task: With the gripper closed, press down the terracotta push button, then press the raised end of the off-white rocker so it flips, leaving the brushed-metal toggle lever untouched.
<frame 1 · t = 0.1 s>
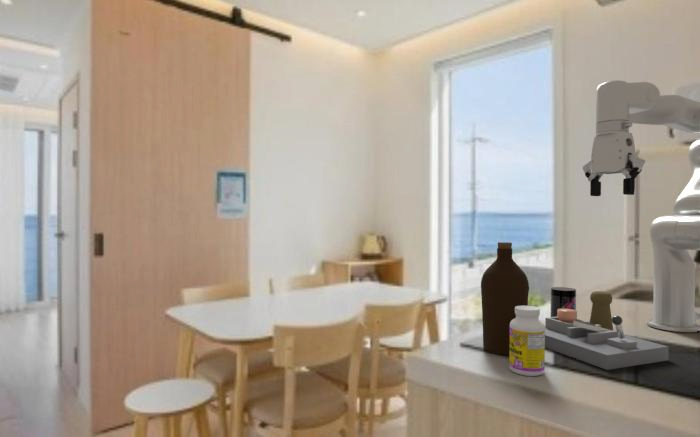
hand: (611, 195, 121), 37 cm above the countertop, tool pointing down, fingers open, 9 cm apart
olive oil: (504, 350, 108), on the countertop
button: (567, 316, 115), point 6 cm above the countertop, slide at 0.0 cm
supplement container: (563, 325, 133), on the countertop
panel: (590, 349, 108), on the countertop
cork: (600, 333, 124), on the countertop
toggle lever: (618, 326, 101), point 7 cm above the countertop, hinge at 20.0°
supplement bottle: (526, 372, 93), on the countertop
rocker: (594, 327, 107), point 5 cm above the countertop, hinge at -15.0°
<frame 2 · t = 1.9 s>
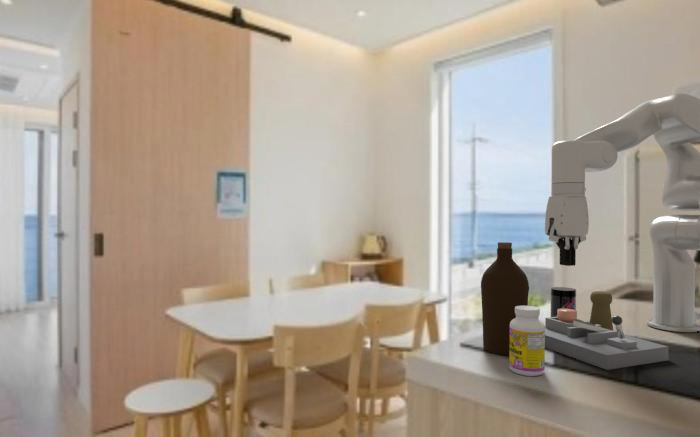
hand: (567, 264, 115), 19 cm above the countertop, tool pointing down, fingers closed
nothing on the countertop moved.
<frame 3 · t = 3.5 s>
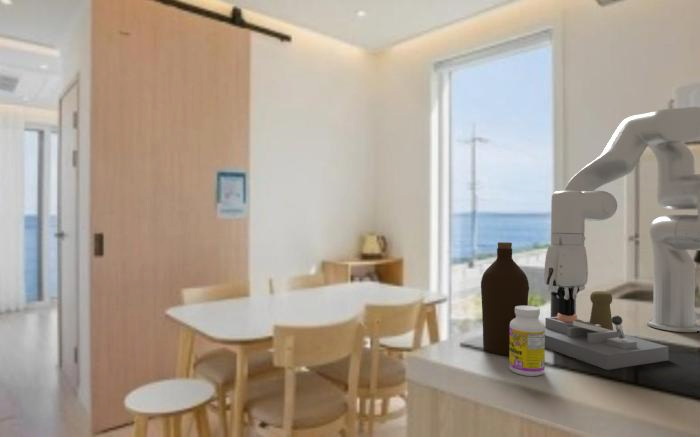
hand: (566, 314, 115), 7 cm above the countertop, tool pointing down, fingers closed
button: (567, 320, 115), point 5 cm above the countertop, slide at 1.0 cm, touching gripper
everything else where it was.
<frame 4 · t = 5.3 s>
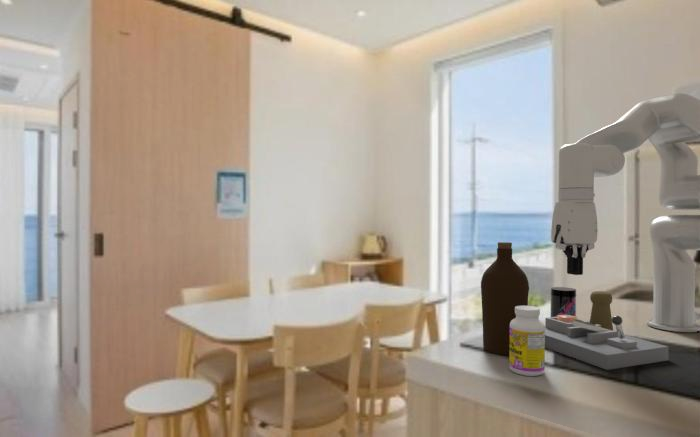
hand: (574, 274, 110), 17 cm above the countertop, tool pointing down, fingers closed
button: (567, 322, 115), point 5 cm above the countertop, slide at 1.5 cm
everything else where it was.
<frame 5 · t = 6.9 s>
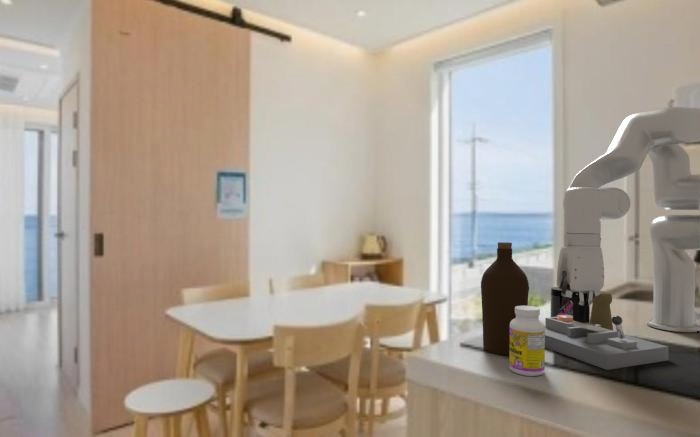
hand: (581, 321, 106), 7 cm above the countertop, tool pointing down, fingers closed
rocker: (594, 327, 107), point 5 cm above the countertop, hinge at -15.0°, touching gripper
everything else where it was.
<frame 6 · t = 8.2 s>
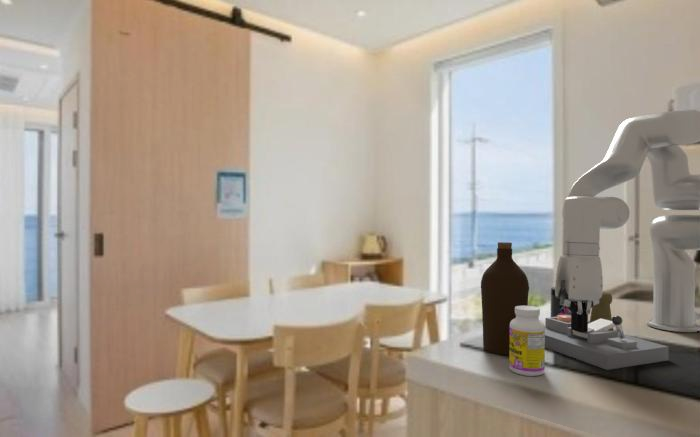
hand: (579, 330, 106), 5 cm above the countertop, tool pointing down, fingers closed
rocker: (594, 327, 107), point 5 cm above the countertop, hinge at 13.7°, touching gripper
everything else where it was.
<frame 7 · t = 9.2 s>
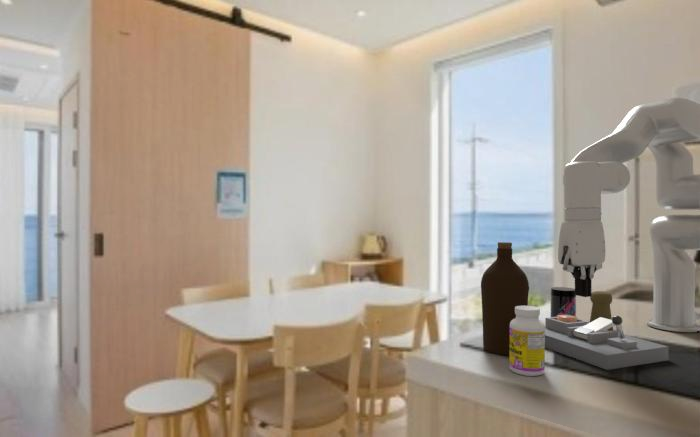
hand: (583, 295, 106), 13 cm above the countertop, tool pointing down, fingers closed
rocker: (594, 327, 107), point 5 cm above the countertop, hinge at 18.1°
everything else where it was.
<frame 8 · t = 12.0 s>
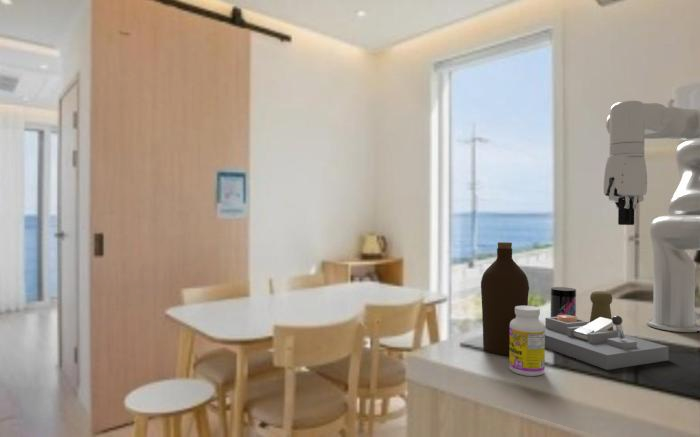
hand: (626, 224, 116), 29 cm above the countertop, tool pointing down, fingers closed
rocker: (594, 327, 107), point 5 cm above the countertop, hinge at 18.9°
everything else where it was.
at the end: button slide at 1.5 cm; rocker at +19° (first picture: -15°); toggle lever at +20° (first picture: +20°) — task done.
